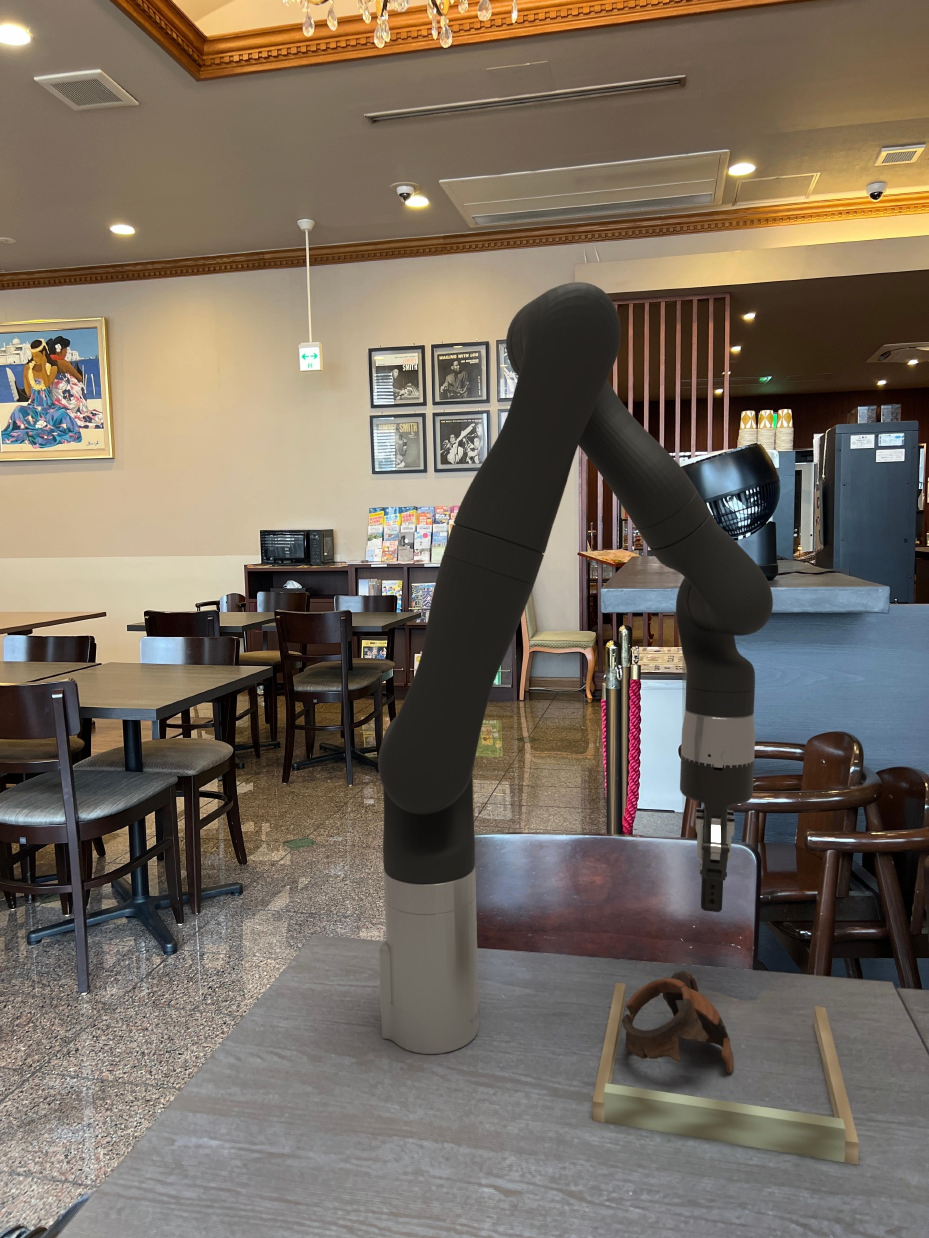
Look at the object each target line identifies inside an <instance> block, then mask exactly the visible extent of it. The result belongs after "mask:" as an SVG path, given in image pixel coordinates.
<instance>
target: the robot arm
mask: <svg viewBox="0 0 929 1238" xmlns="http://www.w3.org/2000/svg"><path fill="white" fill-rule="evenodd" d="M508 326H509V327H508V329H507V332H506V339H505V343H506V344H505V349H506V355H507V359H508V362H509V364H510V367H511V369H512V371H513V373H515V374H516V376H517V381H516V383H515V388H514V391H513V395H512V400H511V403H510V405H509V409H508V412H507V415H506V418H505V420H504V422H503V425H502V427H501V429H500V432H499V434H498V436H497V438H496V439H495V442H494V443H493V445H492V447H491V448H490V449H489V452H488V453H487V455H486V456H485V458H484V460H483V462H482V464H481V465H480V467H479V469H478V470H477V472H476V474H475V475H474V477H473V479H472V480H471V482H470V485H469V487H468V489H467V490H466V493H464V494H465V495H464V496H463V498H462V500H461V503H460V505H459V508H458V510H457V512H456V514H455V518H454V519H453V524H452V527H451V530H450V532H449V536H448V538H447V542H446V544H445V547H444V549H443V554H442V557H441V561H440V564H439V568H438V571H437V575H436V580H435V584H434V588H433V593H432V598H431V601H430V605H429V612H428V618H427V624H426V629H425V635H424V640H423V644H422V645H423V646H422V649H421V655H420V657H419V661H418V665H417V668H416V670H415V673H414V676H413V678H412V681H411V683H410V685H409V688H408V690H407V693H406V696H405V698H404V700H403V703H402V705H401V707H400V709H399V712H398V714H397V715H396V716H395V717H394V718H393V719H392V720H391V721H390V722H389V725H388V726H387V727H386V729H385V732H384V734H383V737H382V741H381V744H380V748H379V752H378V758H377V763H378V764H377V769H378V774H379V779H380V782H381V784H382V787H383V791H382V792H383V836H382V859H383V860H382V861H383V885H384V912H385V913H384V916H385V940H384V941H383V943H381V945H380V947H379V949H378V957H379V958H378V959H379V961H378V963H379V964H378V965H379V986H380V987H379V989H380V990H379V992H380V1016H381V1017H380V1018H381V1038H382V1039H385V1040H386V1039H387V1040H391V1041H392V1042H394V1043H395V1044H396V1045H397V1046H398V1047H400V1048H402V1049H404V1050H406V1051H410V1052H413V1053H417V1054H423V1055H436V1054H438V1055H439V1054H445V1053H448V1052H453V1051H456V1050H458V1049H461V1048H463V1047H465V1046H467V1045H469V1043H470V1042H472V1041H473V1040H474V1039H475V1038H476V1036H477V1034H478V1032H479V1028H480V1025H479V1023H480V1022H479V1017H480V1016H479V1013H480V1005H479V978H478V977H479V976H478V974H479V973H478V971H479V970H478V967H479V965H478V931H477V930H478V929H477V886H476V885H477V883H476V882H477V880H476V879H477V878H476V839H475V837H476V836H475V816H474V792H473V791H474V790H473V789H474V788H473V787H474V785H473V771H474V767H475V760H476V756H477V751H478V750H477V749H478V745H479V741H480V736H481V731H482V727H483V723H484V720H485V715H486V712H487V708H488V707H487V706H488V703H489V700H490V696H491V692H492V690H493V686H494V683H495V680H496V678H497V675H498V672H499V671H500V668H501V666H502V664H503V661H504V659H505V658H506V655H507V653H508V651H509V649H510V646H511V643H512V642H513V639H514V637H515V635H516V632H517V630H518V627H519V625H520V622H521V620H522V617H523V615H524V613H525V609H526V607H527V604H528V601H529V599H530V596H531V594H532V592H533V589H534V586H535V583H536V580H537V577H538V574H539V572H540V568H541V565H542V562H543V559H544V556H545V553H546V551H547V546H548V545H549V540H550V537H551V532H552V529H553V526H554V524H555V521H556V517H557V515H558V511H559V508H560V505H561V503H562V500H563V496H564V493H565V490H566V485H567V483H568V480H569V479H568V478H569V476H570V472H571V468H572V466H573V462H574V459H575V455H576V453H577V450H578V448H580V449H581V450H582V451H583V453H584V454H585V455H586V457H587V458H588V459H589V461H591V463H592V465H593V466H594V467H595V469H596V470H597V472H598V473H599V474H600V476H601V477H602V478H603V480H604V481H605V482H606V484H607V485H608V487H609V488H610V490H611V491H612V493H613V495H615V497H616V499H617V500H618V502H619V503H620V505H621V506H622V508H623V510H624V511H625V513H626V514H627V515H628V518H630V520H631V522H632V524H633V525H634V527H635V528H636V530H637V531H638V533H639V534H640V536H641V539H643V541H644V543H645V544H646V545H647V546H648V548H649V550H650V551H651V553H652V555H653V556H654V557H655V558H656V560H658V561H659V563H661V565H663V566H665V567H667V568H669V569H671V570H674V571H676V572H677V573H679V574H680V575H682V576H683V577H684V578H682V581H681V583H680V585H679V588H678V591H677V594H676V601H675V618H676V624H677V630H678V635H679V640H680V645H681V651H682V656H683V659H684V663H685V668H686V678H685V679H686V680H685V681H686V682H685V707H684V708H685V709H684V716H683V721H682V722H683V723H682V728H681V744H680V745H681V746H680V747H681V748H680V749H681V750H680V771H679V772H680V774H679V777H680V778H679V791H680V793H681V794H682V795H683V796H684V797H686V798H687V799H689V800H692V801H694V802H700V803H702V804H703V807H696V808H695V831H696V833H697V834H696V835H697V838H696V839H697V841H696V844H697V845H696V851H697V852H696V855H697V858H699V859H700V861H701V862H700V863H699V875H700V877H701V889H700V909H701V910H703V911H705V912H711V913H712V912H713V913H720V912H721V911H722V910H723V899H724V898H723V895H724V882H725V881H726V878H727V877H728V872H727V869H728V862H729V861H730V860H731V856H732V854H731V853H732V838H733V836H734V835H735V821H736V820H735V818H734V811H733V810H728V808H729V807H730V806H732V805H737V806H738V805H742V804H747V802H749V801H750V800H751V799H752V797H753V793H754V792H753V791H754V775H755V774H754V773H755V772H754V771H755V749H756V748H755V746H756V729H755V728H756V727H755V717H754V714H755V694H756V693H755V692H756V691H755V690H756V689H755V688H756V675H755V674H756V672H755V668H754V665H753V664H752V662H751V661H749V660H748V659H747V658H746V657H744V656H743V655H742V654H740V652H739V651H738V649H737V645H736V644H737V643H736V638H735V636H737V637H739V636H740V637H742V636H749V635H752V634H755V633H756V632H759V631H760V630H761V629H762V628H764V627H765V626H766V624H767V623H768V622H769V619H770V618H771V615H772V613H773V607H774V598H773V592H772V589H771V585H770V583H769V580H768V579H767V577H766V575H765V574H764V573H765V572H763V571H762V569H761V568H760V566H759V565H758V564H757V563H756V561H755V560H754V559H753V558H752V557H751V556H750V555H749V554H748V553H747V552H746V551H745V550H744V548H743V547H742V546H741V545H740V544H739V543H738V542H737V541H736V540H735V539H734V538H733V537H732V536H731V535H730V534H729V533H728V532H726V530H724V528H722V527H721V526H720V525H719V524H718V523H717V521H716V520H715V518H714V515H713V514H712V512H711V510H710V509H709V508H708V506H707V504H706V502H705V501H704V499H703V498H702V497H701V494H700V493H699V491H698V490H697V488H696V486H695V484H694V483H693V481H692V480H691V478H690V477H689V476H688V474H687V472H685V470H684V469H683V468H682V466H681V465H680V464H679V463H678V461H677V460H676V459H675V458H674V457H673V456H672V455H671V454H670V453H669V452H668V451H667V450H666V448H664V446H662V445H661V444H660V443H659V442H658V441H657V439H655V438H654V437H653V436H652V435H651V434H650V432H648V431H647V430H646V428H644V427H643V425H642V424H640V422H639V421H638V420H637V419H636V418H635V417H634V416H633V414H632V413H631V412H630V411H629V410H628V408H627V407H626V406H625V404H624V403H623V402H622V400H621V398H620V397H619V396H618V395H617V393H616V391H615V389H614V388H613V386H612V384H611V382H610V380H609V376H610V374H611V372H612V371H613V367H614V365H615V363H616V361H617V358H618V354H619V351H620V346H621V340H622V339H621V338H622V337H621V336H622V326H621V322H620V315H619V313H618V310H617V307H616V304H615V303H614V302H613V300H612V299H611V297H610V296H609V294H607V292H605V291H604V290H603V289H602V288H600V287H599V286H596V285H595V284H592V283H588V282H582V281H581V282H580V281H578V282H577V281H576V282H574V281H573V282H567V283H564V284H561V285H557V286H555V287H552V288H550V289H548V290H546V291H545V292H543V293H542V294H541V295H539V296H537V297H535V298H534V299H532V300H531V301H530V302H528V303H526V304H525V305H524V306H522V307H521V309H519V310H518V311H517V312H516V313H515V315H514V317H513V318H512V320H511V322H510V324H509V325H508Z"/></svg>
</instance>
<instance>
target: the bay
mask: <svg viewBox="0 0 929 1238" xmlns="http://www.w3.org/2000/svg"><path fill="white" fill-rule="evenodd" d="M612 995H613V996H612V1001H611V1007H610V1011H609V1017H608V1021H607V1025H606V1031H605V1035H604V1042H603V1046H602V1051H601V1056H600V1061H599V1067H598V1071H597V1077H596V1081H595V1086H594V1092H593V1097H592V1121H594V1122H596V1121H597V1122H600V1123H601V1122H602V1123H608V1124H613V1125H619V1126H624V1127H630V1128H637V1129H643V1130H649V1131H653V1132H654V1131H655V1132H659V1133H667V1134H673V1135H679V1136H685V1137H691V1138H695V1139H702V1140H709V1141H713V1142H714V1141H715V1142H721V1143H725V1144H731V1145H732V1144H733V1145H739V1146H744V1147H750V1148H757V1149H761V1150H769V1151H774V1152H780V1153H786V1154H792V1155H797V1156H803V1157H810V1158H816V1159H822V1160H827V1161H835V1162H840V1163H846V1164H852V1165H859V1149H860V1148H859V1147H860V1146H859V1145H860V1142H859V1139H858V1133H857V1130H856V1127H855V1122H854V1119H853V1115H852V1114H853V1113H852V1109H851V1107H850V1102H849V1098H848V1095H847V1094H848V1093H847V1090H846V1086H845V1082H844V1079H843V1078H844V1077H843V1074H842V1070H841V1066H840V1063H839V1059H838V1053H837V1049H836V1045H835V1042H834V1037H833V1034H832V1030H831V1026H830V1023H829V1022H830V1021H829V1019H828V1014H827V1010H826V1007H823V1006H814V1010H813V1011H814V1013H813V1014H814V1015H813V1017H814V1018H813V1019H814V1020H813V1026H814V1031H815V1034H816V1040H817V1045H818V1048H819V1053H820V1058H821V1063H822V1067H823V1071H824V1076H825V1080H826V1085H827V1090H828V1094H829V1095H828V1096H829V1098H830V1099H829V1101H830V1105H831V1109H832V1113H833V1116H826V1115H820V1114H813V1113H806V1112H800V1111H793V1110H785V1109H780V1108H774V1107H773V1108H771V1107H765V1106H759V1105H754V1104H753V1105H752V1104H747V1103H741V1102H740V1103H739V1102H732V1101H727V1100H718V1099H714V1098H708V1097H707V1098H706V1097H698V1096H692V1095H686V1094H679V1093H674V1092H666V1091H658V1090H653V1089H646V1088H640V1087H634V1086H627V1085H626V1086H625V1085H621V1084H620V1085H619V1084H614V1083H612V1081H613V1075H614V1071H615V1070H614V1069H615V1064H616V1058H617V1052H618V1047H619V1041H620V1036H621V1030H622V1025H623V1024H622V1019H623V1018H624V1013H625V1012H624V1011H625V1007H626V983H623V982H615V985H614V990H613V994H612Z"/></svg>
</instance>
